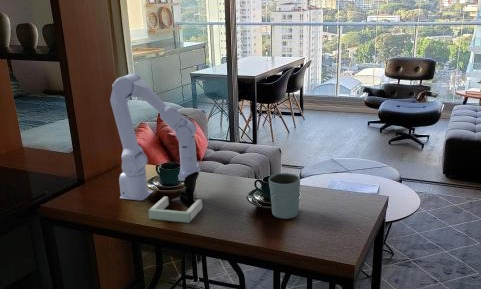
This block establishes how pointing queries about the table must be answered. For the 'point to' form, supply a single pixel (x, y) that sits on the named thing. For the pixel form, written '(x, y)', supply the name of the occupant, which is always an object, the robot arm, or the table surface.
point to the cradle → (172, 215)
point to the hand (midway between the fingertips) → (191, 192)
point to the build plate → (185, 198)
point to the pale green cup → (284, 195)
